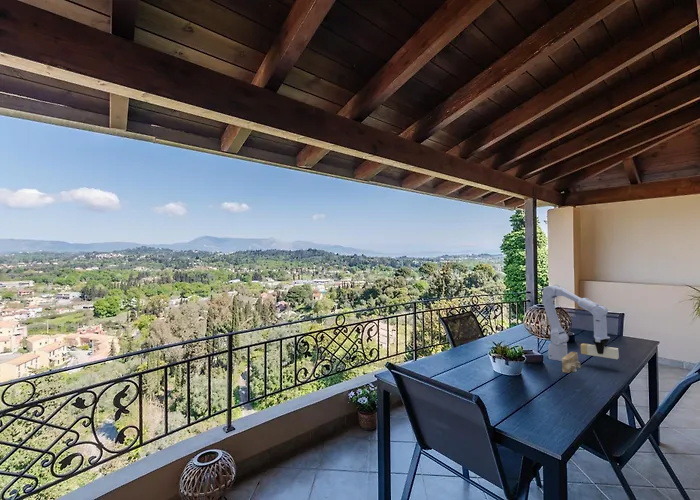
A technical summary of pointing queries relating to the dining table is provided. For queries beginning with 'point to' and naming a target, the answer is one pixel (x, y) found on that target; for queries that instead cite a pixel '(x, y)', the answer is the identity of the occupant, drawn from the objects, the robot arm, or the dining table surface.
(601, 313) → the robot arm
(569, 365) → the post
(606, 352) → the rail
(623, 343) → the dining table surface
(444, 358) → the dining table surface
